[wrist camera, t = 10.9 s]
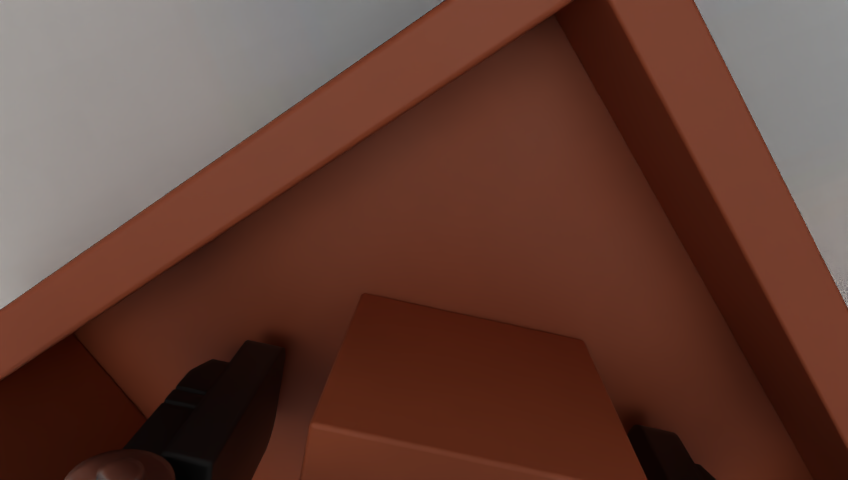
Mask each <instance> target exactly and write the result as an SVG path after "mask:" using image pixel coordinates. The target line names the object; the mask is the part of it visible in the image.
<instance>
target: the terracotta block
mask: <svg viewBox="0 0 848 480" xmlns="http://www.w3.org/2000/svg"><path fill="white" fill-rule="evenodd" d="M299 480H647V478H646V475H645V473H644V471H643V469H642V467H641V464H640V462H639V460H638V458H637V456H636V454H635V451H634V449H633V447H632V445H631V443H630V440H629V438H628V436H627V434H626V432H625V430H624V427H623V425H622V423H621V421H620V419H619V417H618V414H617V412H616V410H615V408H614V406H613V403H612V401H611V399H610V397H609V395H608V393H607V390H606V388H605V386H604V384H603V382H602V379H601V377H600V375H599V373H598V371H597V369H596V366H595V364H594V362H593V360H592V358H591V356H590V353H589V351H588V349H587V347H586V345H585V342H584V341H582V340H578V339H573V338H569V337H564V336H560V335H555V334H550V333H546V332H541V331H536V330H532V329H527V328H523V327H518V326H513V325H509V324H504V323H499V322H495V321H490V320H486V319H481V318H476V317H472V316H467V315H462V314H458V313H453V312H449V311H444V310H439V309H435V308H430V307H425V306H421V305H416V304H412V303H407V302H402V301H398V300H393V299H388V298H384V297H379V296H374V295H370V294H362V295H361V297H360V300H359V302H358V305H357V307H356V310H355V312H354V315H353V317H352V319H351V322H350V324H349V327H348V329H347V332H346V334H345V337H344V339H343V342H342V344H341V347H340V349H339V352H338V354H337V357H336V359H335V362H334V364H333V367H332V369H331V372H330V374H329V377H328V379H327V382H326V384H325V387H324V389H323V392H322V394H321V397H320V399H319V402H318V404H317V407H316V409H315V412H314V414H313V417H312V419H311V422H310V424H309V429H308V435H307V440H306V446H305V451H304V457H303V462H302V468H301V474H300V479H299Z"/></svg>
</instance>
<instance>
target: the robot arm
mask: <svg viewBox="0 0 848 480" xmlns="http://www.w3.org/2000/svg"><path fill="white" fill-rule="evenodd" d="M284 362H285V348H284V347H279V346H275V345H270V344H265V343H261V342H256V341H251V340H246V341H245V342H244V343H243V345H242V346H241V347H240V349H239V350H238V351H237V353H236V354H235V355H234V357H233V358H232V359H231V361H230V362H225V361H220V360H215V359H211V360H209V361H207V362H205V363H203V364H201V365H199V366H197V367H195V368H193V369H191V370H190V371H189V372H188V373H187V374H186V375H185V376H184V378H183V379H182V380H181V381H180V382H179V383H178V385H177V386H176V389H173V390H172V392H171V393H170V394H169V395H168V396H167V397H166V399H165V401H164V403H161V404H160V406H159V407H158V408H157V409H156V410H155V411H154V413H153V414H152V415H151V416H150V417H149V418H148V420H147V421H146V422H145V423H144V424H143V425H142V427H141V428H140V429H139V430H138V431H137V432H136V433H135V435H134V436H133V437H132V438H131V439H130V440H129V442H128V443H127V444H126V445H125V446H124V447H123V449H119V450H113V451H108V452H104V453H100V454H98V455H95V456H92V457H90V458H88V459H86V460H84V461H83V462H81V463H80V464H78V465H77V466H75V467H74V468H73V469H72V470H71V471H70V472H69V473H68V475H67V476H66V477H65V479H64V480H252V478H253V476H254V473H255V471H256V469H257V467H258V465H259V463H260V461H261V459H262V457H263V455H264V453H265V451H266V449H267V446H268V443H269V441H270V437H271V434H272V431H273V427H274V423H275V418H276V412H277V406H278V399H279V393H280V387H281V381H282V375H283V368H284ZM627 436H628V438H629V440H630V443H631V445H632V447H633V449H634V451H635V454H636V456H637V458H638V460H639V462H640V464H641V467H642V469H643V471H644V473H645V475H646V478H647V480H716V479H715V478H714V477H713V476H712V475H711V474H710V473H709V472H708V471H707V470H706V469H705V468H703V467H702V466H701V465H700V464H695V463H694V461H693V460H692V458H691V456H690V455H689V453H688V451H687V450H686V448H685V446H684V445H683V443H682V441H681V440H680V438H679V436H678V435H677V434H676V433H674V432H670V431H665V430H661V429H656V428H651V427H647V426H642V425H634V426H633V427H632V428H631V429H630V430H629V432H628V434H627Z"/></svg>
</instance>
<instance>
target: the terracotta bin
mask: <svg viewBox="0 0 848 480" xmlns="http://www.w3.org/2000/svg"><path fill="white" fill-rule="evenodd" d="M362 294H370V295H374V296H379V297H384V298H388V299H393V300H398V301H402V302H407V303H412V304H416V305H421V306H425V307H430V308H435V309H439V310H444V311H449V312H453V313H458V314H462V315H467V316H472V317H476V318H481V319H486V320H490V321H495V322H499V323H504V324H509V325H513V326H518V327H523V328H527V329H532V330H536V331H541V332H546V333H550V334H555V335H560V336H564V337H569V338H573V339H578V340H582V341H584V342H585V345H586V347H587V349H588V351H589V353H590V356H591V358H592V360H593V362H594V364H595V366H596V369H597V371H598V373H599V375H600V377H601V379H602V382H603V384H604V386H605V388H606V390H607V393H608V395H609V397H610V399H611V401H612V403H613V406H614V408H615V410H616V412H617V414H618V417H619V419H620V421H621V423H622V425H623V427H624V430H625V432H626V434H628V432H629V430H630V429H631V428H632V427H633V426H634V425H642V426H647V427H651V428H656V429H661V430H665V431H670V432H674V433H676V434H677V435H678V436H679V438H680V440H681V441H682V443H683V445H684V446H685V448H686V450H687V451H688V453H689V455H690V456H691V458H692V460H693V461H694V463H695V464H700V465H701V466H702V467H703V468H705V469H706V470H707V471H708V472H709V473H710V474H711V475H712V476H713V477H714V478H715V479H716V480H848V308H847V306H846V304H845V302H844V300H843V298H842V296H841V294H840V292H839V290H838V288H837V286H836V284H835V282H834V280H833V278H832V276H831V274H830V272H829V270H828V268H827V266H826V264H825V262H824V260H823V258H822V256H821V254H820V252H819V250H818V248H817V246H816V244H815V242H814V240H813V238H812V236H811V234H810V232H809V230H808V228H807V226H806V224H805V222H804V220H803V218H802V216H801V214H800V212H799V210H798V208H797V206H796V204H795V202H794V200H793V198H792V196H791V194H790V192H789V190H788V188H787V186H786V184H785V182H784V180H783V178H782V176H781V174H780V172H779V170H778V168H777V166H776V164H775V162H774V160H773V158H772V156H771V154H770V152H769V150H768V148H767V146H766V144H765V142H764V140H763V138H762V136H761V134H760V132H759V130H758V128H757V126H756V124H755V122H754V120H753V118H752V116H751V114H750V112H749V110H748V108H747V106H746V104H745V102H744V100H743V98H742V96H741V94H740V92H739V90H738V88H737V86H736V84H735V82H734V80H733V78H732V76H731V74H730V72H729V70H728V68H727V66H726V64H725V62H724V60H723V58H722V56H721V54H720V52H719V50H718V48H717V46H716V44H715V42H714V40H713V38H712V36H711V34H710V32H709V30H708V28H707V26H706V24H705V22H704V20H703V18H702V16H701V14H700V12H699V10H698V8H697V6H696V4H695V2H694V0H445V1H443V2H442V3H440V4H439V5H438V6H436V7H435V8H433V9H432V10H430V11H429V12H428V13H426V14H425V15H423V16H422V17H420V18H419V19H417V20H416V21H415V22H413V23H412V24H410V25H409V26H407V27H406V28H405V29H403V30H402V31H400V32H399V33H397V34H396V35H395V36H393V37H392V38H390V39H389V40H387V41H386V42H384V43H383V44H382V45H380V46H379V47H377V48H376V49H374V50H373V51H372V52H370V53H369V54H367V55H366V56H364V57H363V58H361V59H360V60H359V61H357V62H356V63H354V64H353V65H351V66H350V67H349V68H347V69H346V70H344V71H343V72H341V73H340V74H338V75H337V76H336V77H334V78H333V79H331V80H330V81H328V82H327V83H326V84H324V85H323V86H321V87H320V88H318V89H317V90H315V91H314V92H313V93H311V94H310V95H308V96H307V97H305V98H304V99H303V100H301V101H300V102H298V103H297V104H295V105H294V106H292V107H291V108H290V109H288V110H287V111H285V112H284V113H282V114H281V115H280V116H278V117H277V118H275V119H274V120H272V121H271V122H269V123H268V124H267V125H265V126H264V127H262V128H261V129H259V130H258V131H257V132H255V133H254V134H252V135H251V136H249V137H248V138H246V139H245V140H244V141H242V142H241V143H239V144H238V145H236V146H235V147H234V148H232V149H231V150H229V151H228V152H226V153H225V154H223V155H222V156H221V157H219V158H218V159H216V160H215V161H213V162H212V163H211V164H209V165H208V166H206V167H205V168H203V169H202V170H201V171H199V172H198V173H196V174H195V175H193V176H192V177H190V178H189V179H188V180H186V181H185V182H183V183H182V184H180V185H179V186H178V187H176V188H175V189H173V190H172V191H170V192H169V193H167V194H166V195H165V196H163V197H162V198H160V199H159V200H157V201H156V202H155V203H153V204H152V205H150V206H149V207H147V208H146V209H144V210H143V211H142V212H140V213H139V214H137V215H136V216H134V217H133V218H132V219H130V220H129V221H127V222H126V223H124V224H123V225H121V226H120V227H119V228H117V229H116V230H114V231H113V232H111V233H110V234H109V235H107V236H106V237H104V238H103V239H101V240H100V241H98V242H97V243H96V244H94V245H93V246H91V247H90V248H88V249H87V250H86V251H84V252H83V253H81V254H80V255H78V256H77V257H75V258H74V259H73V260H71V261H70V262H68V263H67V264H65V265H64V266H63V267H61V268H60V269H58V270H57V271H55V272H54V273H52V274H51V275H50V276H48V277H47V278H45V279H44V280H42V281H41V282H40V283H38V284H37V285H35V286H34V287H32V288H31V289H29V290H28V291H27V292H25V293H24V294H22V295H21V296H19V297H18V298H17V299H15V300H14V301H12V302H11V303H9V304H8V305H6V306H5V307H4V308H2V309H1V310H0V480H64V479H65V477H66V476H67V475H68V473H69V472H70V471H71V470H72V469H73V468H74V467H75V466H77V465H78V464H80V463H81V462H83V461H84V460H86V459H88V458H90V457H92V456H95V455H98V454H100V453H104V452H108V451H113V450H119V449H123V447H124V446H125V445H126V444H127V443H128V442H129V440H130V439H131V438H132V437H133V436H134V435H135V433H136V432H137V431H138V430H139V429H140V428H141V427H142V425H143V424H144V423H145V422H146V421H147V420H148V418H149V417H150V416H151V415H152V414H153V413H154V411H155V410H156V409H157V408H158V407H159V406H160V404H161V403H164V401H165V399H166V397H167V396H168V395H169V394H170V393H171V392H172V390H173V389H176V386H177V385H178V383H179V382H180V381H181V380H182V379H183V378H184V376H185V375H186V374H187V373H188V372H189V371H190V370H191V369H193V368H195V367H197V366H199V365H201V364H203V363H205V362H207V361H209V360H211V359H215V360H220V361H225V362H230V361H231V359H232V358H233V357H234V355H235V354H236V353H237V351H238V350H239V349H240V347H241V346H242V345H243V343H244V342H245V341H246V340H251V341H256V342H261V343H265V344H270V345H275V346H279V347H284V348H285V362H284V368H283V375H282V381H281V387H280V393H279V399H278V406H277V412H276V418H275V423H274V427H273V431H272V434H271V437H270V441H269V443H268V446H267V449H266V451H265V453H264V455H263V457H262V459H261V461H260V463H259V465H258V467H257V469H256V471H255V473H254V476H253V478H252V480H299V479H300V474H301V468H302V462H303V457H304V451H305V446H306V440H307V435H308V429H309V424H310V422H311V419H312V417H313V414H314V412H315V409H316V407H317V404H318V402H319V399H320V397H321V394H322V392H323V389H324V387H325V384H326V382H327V379H328V377H329V374H330V372H331V369H332V367H333V364H334V362H335V359H336V357H337V354H338V352H339V349H340V347H341V344H342V342H343V339H344V337H345V334H346V332H347V329H348V327H349V324H350V322H351V319H352V317H353V315H354V312H355V310H356V307H357V305H358V302H359V300H360V297H361V295H362Z"/></svg>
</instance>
